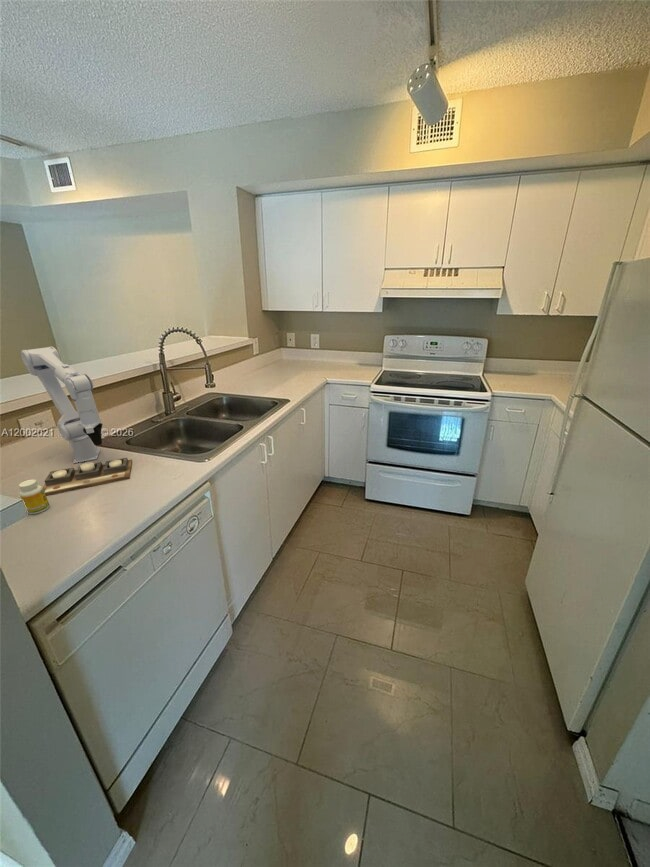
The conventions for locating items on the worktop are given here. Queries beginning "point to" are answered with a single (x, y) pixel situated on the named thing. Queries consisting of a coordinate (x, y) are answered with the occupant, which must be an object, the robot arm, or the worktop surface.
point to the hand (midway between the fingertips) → (98, 444)
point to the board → (87, 477)
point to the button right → (115, 463)
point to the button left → (59, 473)
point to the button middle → (87, 467)
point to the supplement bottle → (33, 496)
